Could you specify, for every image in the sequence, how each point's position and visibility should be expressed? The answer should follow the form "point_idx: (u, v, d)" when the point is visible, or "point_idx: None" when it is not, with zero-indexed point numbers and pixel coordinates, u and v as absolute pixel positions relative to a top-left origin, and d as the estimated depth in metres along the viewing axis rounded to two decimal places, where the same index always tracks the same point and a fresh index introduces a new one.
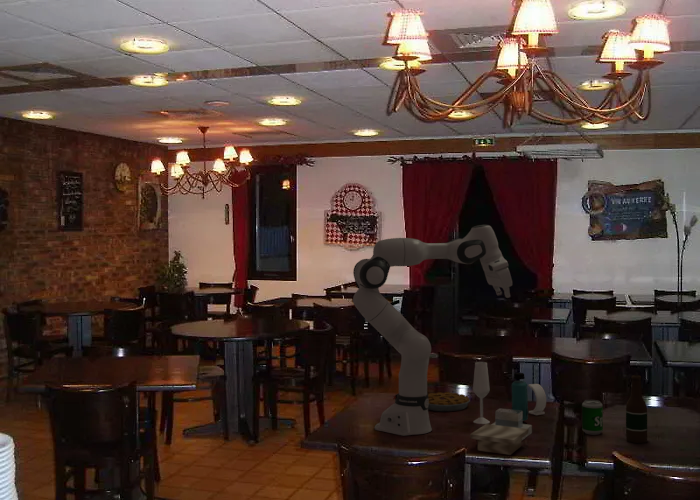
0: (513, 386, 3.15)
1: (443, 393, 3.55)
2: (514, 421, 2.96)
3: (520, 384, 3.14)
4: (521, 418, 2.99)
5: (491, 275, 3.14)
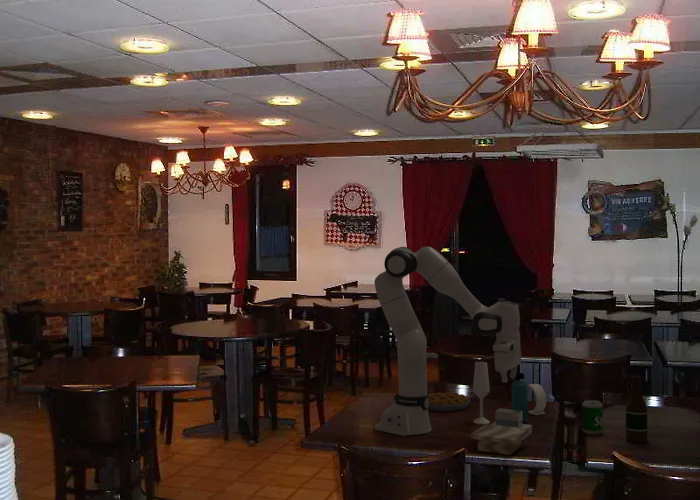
0: (513, 386, 3.15)
1: (443, 393, 3.55)
2: (514, 421, 2.96)
3: (520, 384, 3.14)
4: (521, 418, 2.99)
5: None
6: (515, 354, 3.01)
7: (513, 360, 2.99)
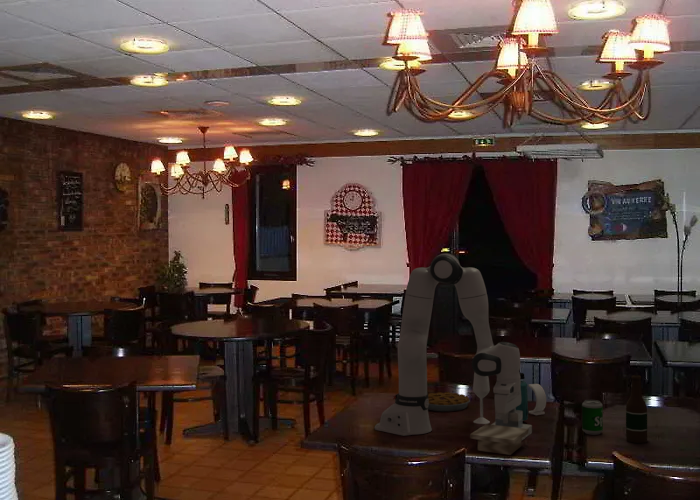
0: None
1: (443, 393, 3.55)
2: (514, 421, 2.96)
3: None
4: (521, 418, 2.99)
5: None
6: (515, 395, 3.02)
7: (513, 402, 2.99)
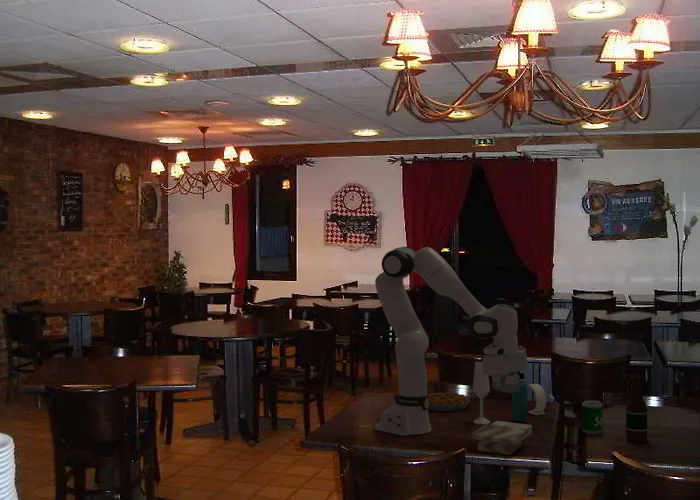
0: None
1: (443, 393, 3.55)
2: (506, 384, 2.90)
3: (520, 384, 3.14)
4: (517, 382, 2.91)
5: None
6: (515, 359, 2.95)
7: (509, 365, 2.93)
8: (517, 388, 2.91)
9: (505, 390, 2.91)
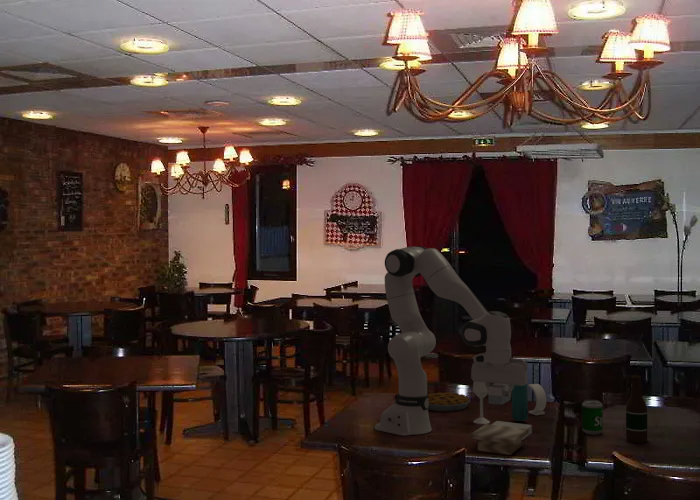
0: None
1: (443, 393, 3.55)
2: None
3: None
4: (498, 394, 2.77)
5: None
6: (507, 371, 2.78)
7: (498, 376, 2.80)
8: (499, 400, 2.77)
9: None
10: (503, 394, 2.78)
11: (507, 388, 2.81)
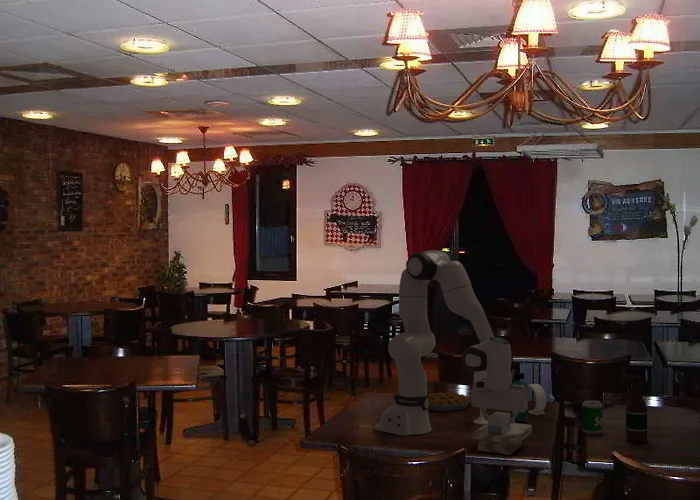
0: None
1: (443, 393, 3.55)
2: None
3: (520, 384, 3.14)
4: (498, 425, 2.78)
5: None
6: (507, 397, 2.79)
7: (498, 402, 2.80)
8: (498, 431, 2.78)
9: None
10: (503, 425, 2.78)
11: (507, 418, 2.82)
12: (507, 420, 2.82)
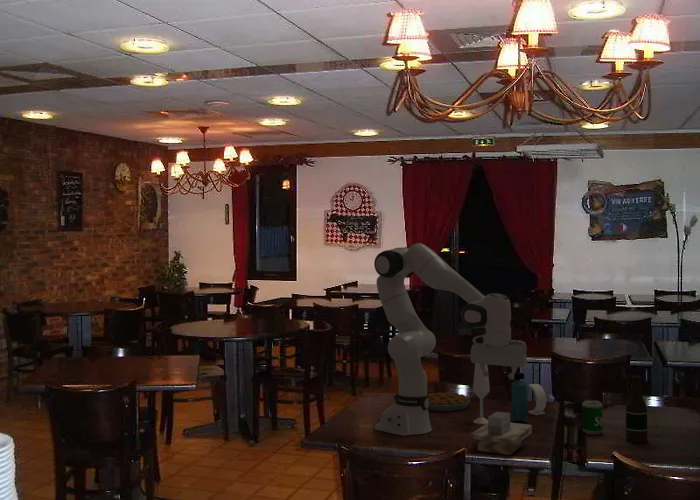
0: (513, 386, 3.16)
1: (443, 393, 3.55)
2: None
3: (520, 384, 3.14)
4: (498, 425, 2.78)
5: None
6: (506, 353, 2.79)
7: (497, 358, 2.80)
8: (498, 431, 2.78)
9: None
10: (503, 425, 2.78)
11: (507, 418, 2.82)
12: (507, 420, 2.82)
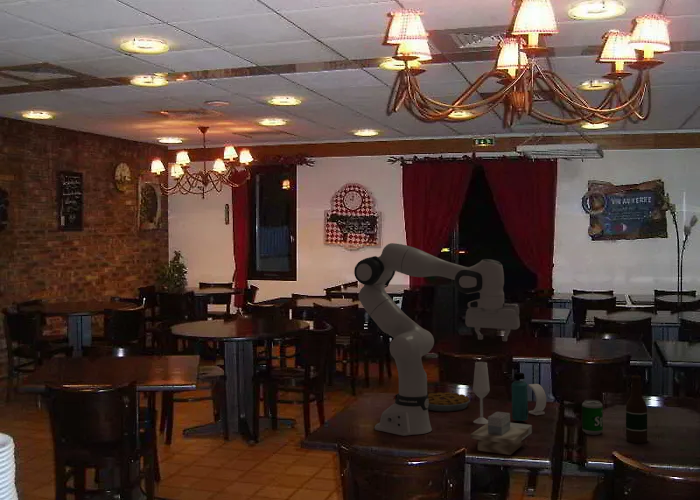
0: (513, 386, 3.16)
1: (443, 393, 3.55)
2: None
3: (520, 384, 3.14)
4: (498, 425, 2.78)
5: None
6: (500, 316, 2.89)
7: (491, 321, 2.91)
8: (498, 431, 2.78)
9: None
10: (503, 425, 2.78)
11: (507, 418, 2.82)
12: (507, 420, 2.82)
